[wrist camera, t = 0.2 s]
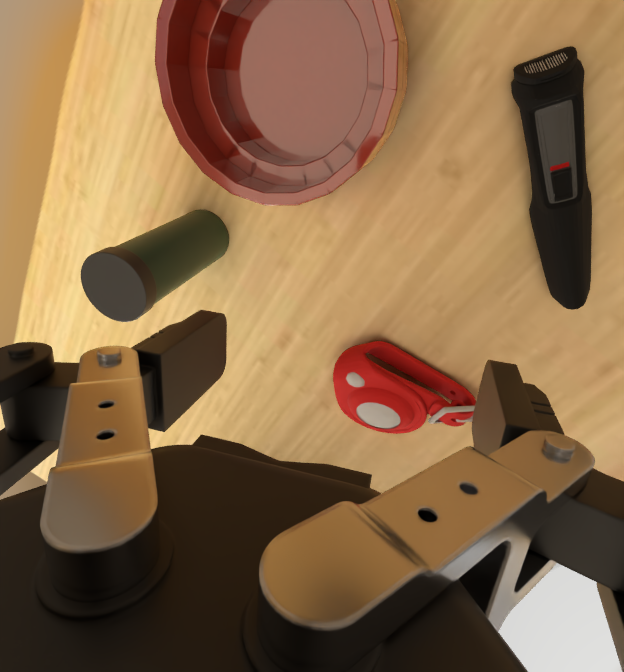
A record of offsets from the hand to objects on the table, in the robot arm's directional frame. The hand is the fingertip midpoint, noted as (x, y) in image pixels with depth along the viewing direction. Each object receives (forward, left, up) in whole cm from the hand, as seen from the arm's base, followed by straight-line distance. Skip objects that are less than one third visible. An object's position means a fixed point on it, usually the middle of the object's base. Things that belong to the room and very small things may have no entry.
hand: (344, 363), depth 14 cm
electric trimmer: (-7, +7, -23) cm, 25 cm away
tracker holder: (+13, +10, -23) cm, 28 cm away
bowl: (-2, -11, -22) cm, 25 cm away
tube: (+12, -12, -22) cm, 28 cm away
